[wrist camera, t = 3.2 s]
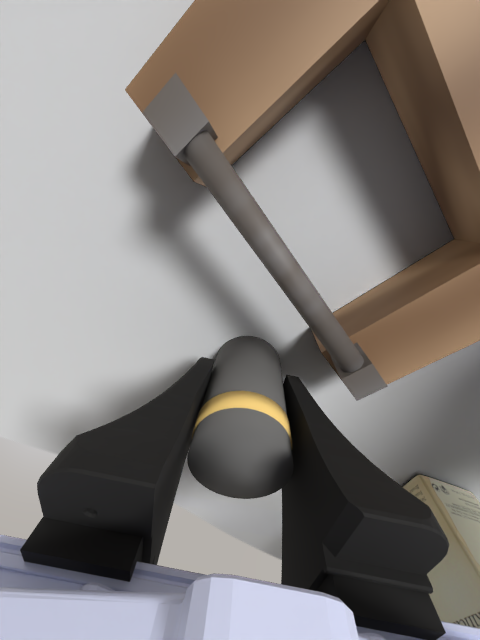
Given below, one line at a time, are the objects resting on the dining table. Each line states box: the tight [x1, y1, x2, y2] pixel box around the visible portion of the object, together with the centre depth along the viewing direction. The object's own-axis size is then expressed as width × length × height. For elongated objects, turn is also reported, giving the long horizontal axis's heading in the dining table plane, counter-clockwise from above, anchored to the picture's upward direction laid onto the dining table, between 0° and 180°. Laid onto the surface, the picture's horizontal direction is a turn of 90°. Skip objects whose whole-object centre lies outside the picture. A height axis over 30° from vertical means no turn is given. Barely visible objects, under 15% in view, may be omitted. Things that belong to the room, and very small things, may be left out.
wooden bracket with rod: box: [125, 0, 480, 400], centre depth 8 cm, size 14×11×4 cm
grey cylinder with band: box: [187, 336, 294, 499], centre depth 11 cm, size 4×4×6 cm
